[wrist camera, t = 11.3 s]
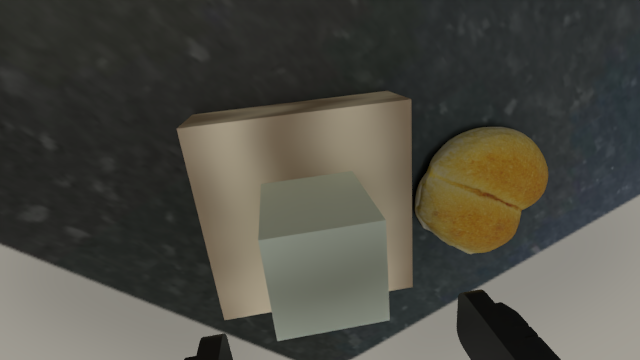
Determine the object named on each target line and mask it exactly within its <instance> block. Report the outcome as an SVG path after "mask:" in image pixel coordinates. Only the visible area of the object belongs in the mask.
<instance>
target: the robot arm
mask: <svg viewBox="0 0 640 360" xmlns="http://www.w3.org/2000/svg"><path fill="white" fill-rule="evenodd" d="M457 333H458V337H459V340H460V342H461V344H462V346H463V348H464V350H465V351H466V353H467V354H468V356H469V357H470V359H471V360H561V359H560V358H559V357H558V356H557V355H556V354H555V353H554V352H553V351H552V350H551V349H550V347H549V346H548V345H547V344H546V343H545V342H544V341H543V340H542V339H541V338H540V337H538V335H537V333H536V332H535V331H534V330H533V329H532V328H531V327H529V326H528V323H527V322H526V321H525V320H524V319H523V318H522V317H521V316H520V315H519V314H518V313H517V312H516V311H515V310H513V309H511V308H510V307H508V306H507V305H505V304H503V303H501V302H500V303H494V302H493V300H492V299H491V298H490V297H489V296H488V295H487V293H485V291H483V290H475V291H470V292H464V293H460V294H459V296H458V311H457ZM184 360H233V358H232V354H231V351H230V347H229V343H228V339H227V336H226V334H219V335H213V336H208V337H203V338H201V340H200V343H199V347H198V351H197V356H193V357H188V358H185V359H184Z"/></svg>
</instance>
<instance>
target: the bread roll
mask: <svg viewBox="0 0 640 360" xmlns="http://www.w3.org/2000/svg"><path fill="white" fill-rule="evenodd" d="M547 181H548V167H547V164H546V161H545V159H544V157H543V155H542V153H541V151H540V150H539V148H538V147H537V145H536V144H535V143H534V142H533V141H532V140H531V139H530V138H529V137H527V136H526V135H525V134H523V133H521V132H519V131H516V130H514V129H510V128H505V127H481V128H476V129H472V130H469V131H466V132H463V133H461V134H459V135H457V136H455V137H454V138H452V139H450V140H449V141H448V142H446V143H445V144H444V145H443V146H442V147H441V148H440V149H439V150H438V152H437V153H436V154H435V155H434V157H433V158H432V160H431V162H430V164H429V167H428V170H427V172H426V173H425V175H424V176H423V177H422V179H421V181H420V183H419V185H418V188H417V191H416V196H415V213H416V216H417V218H418V220H419V222H420V223H421V225H422V227H423V228H424V229H427V230H429V231H431V232H433V233H434V234H435V235H436V236H437V237H438V238H439V239H441V240H442V241H444V242H446V243H447V244H448V245H451V246H455V247H456V248H458V249H460V250H462V251H464V252H466V253H468V254H473V253H483V252H489V251H491V250H493V249H496V248H498V247H500V246H501V245H503V244H505V243H506V242H508V241H509V240H510V239H511V238H512V237H513V236H514V234H515V233H516V230H517V227H518V225H519V221H520V215H521V211H522V210H523V209H525V208H527V207H529V206H531V205H532V204H534V203H535V202H536V201H537V200H538V199H539V198H540V197H541V196H542V194H543V193H544V191H545V189H546V185H547Z"/></svg>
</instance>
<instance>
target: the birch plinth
mask: <svg viewBox="0 0 640 360" xmlns="http://www.w3.org/2000/svg"><path fill="white" fill-rule="evenodd" d="M177 132H178V136H179V140H180V144H181V148H182V152H183V156H184V160H185V164H186V168H187V172H188V176H189V180H190V184H191V188H192V192H193V196H194V200H195V204H196V208H197V212H198V216H199V220H200V224H201V228H202V232H203V236H204V240H205V244H206V248H207V252H208V256H209V260H210V264H211V268H212V272H213V276H214V280H215V284H216V288H217V292H218V296H219V300H220V304H221V308H222V312H223V316H224V320H229V319H234V318H240V317H246V316H251V315H257V314H263V313H268V312H272V310H271V305H270V300H269V295H268V289H267V284H266V279H265V273H264V268H263V263H262V258H261V252H260V247H259V242H258V235H259V215H260V195H261V184H265V183H272V182H279V181H286V180H293V179H300V178H307V177H314V176H321V175H328V174H334V173H341V172H348V171H352V172H353V173H354V174H355V176H356V177H357V179H358V180H359V182H360V183H361V185H362V186H363V188H364V189H365V190H366V192H367V193H368V195H369V196H370V198H371V199H372V201H373V202H374V204H375V205H376V206H377V208H378V209H379V211H380V212H381V214H382V215H383V217H384V218H385V220H386V235H387V261H388V287H389V291H393V290H398V289H404V288H410V287H413V283H412V132H411V99H409V98H406V97H404V96H401V95H398V94H395V93H392V92H389V91H381V92H373V93H365V94H357V95H348V96H340V97H332V98H324V99H316V100H308V101H299V102H291V103H283V104H275V105H267V106H259V107H250V108H242V109H234V110H226V111H218V112H210V113H201V114H193V115H192V116H190V117H189V118H188V119H187V120H186V121H185V122H184V123H183V124H181V125H180V126H179V127H178V128H177Z"/></svg>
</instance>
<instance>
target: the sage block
mask: <svg viewBox="0 0 640 360" xmlns="http://www.w3.org/2000/svg"><path fill="white" fill-rule="evenodd" d="M258 242H259V247H260V252H261V258H262V263H263V268H264V273H265V279H266V284H267V289H268V295H269V300H270V305H271V310H272V316H273V321H274V326H275V332H276V337H277V341H281V340H286V339H291V338H297V337H302V336H308V335H313V334H318V333H324V332H329V331H334V330H340V329H345V328H351V327H356V326H361V325H367V324H372V323H377V322H383V321H388V320H390V314H389V287H388V261H387V235H386V220H385V218H384V217H383V215H382V214H381V212H380V211H379V209H378V208H377V206H376V205H375V204H374V202H373V201H372V199H371V198H370V196H369V195H368V193H367V192H366V190H365V189H364V188H363V186H362V185H361V183H360V182H359V180H358V179H357V177H356V176H355V174H354V173H353V172H352V171H348V172H341V173H334V174H328V175H321V176H314V177H307V178H300V179H293V180H286V181H279V182H272V183H265V184H261V195H260V215H259V235H258Z"/></svg>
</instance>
